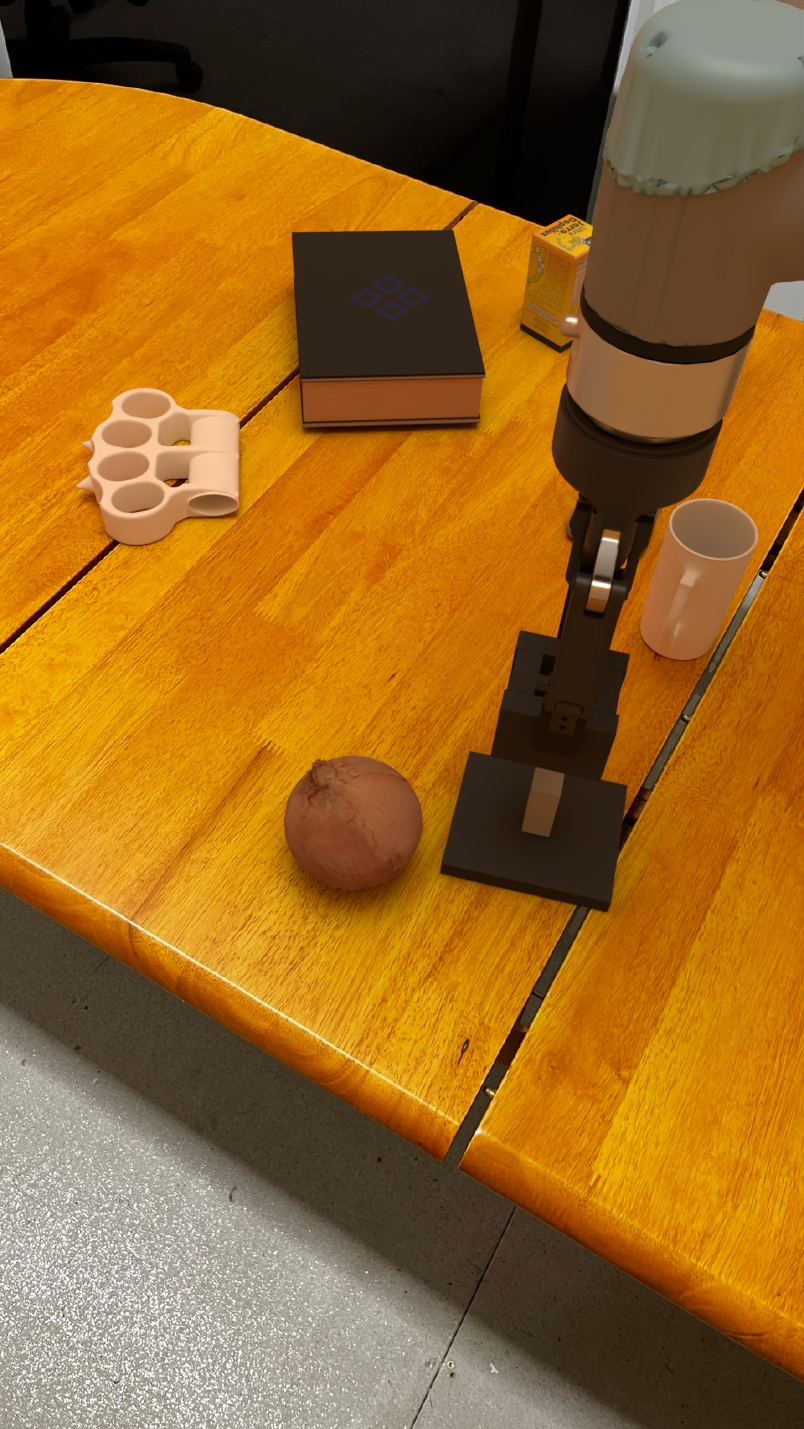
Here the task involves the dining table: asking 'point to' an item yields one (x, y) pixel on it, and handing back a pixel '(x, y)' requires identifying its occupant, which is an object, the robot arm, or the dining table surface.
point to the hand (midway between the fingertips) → (564, 702)
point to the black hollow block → (526, 705)
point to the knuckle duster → (161, 465)
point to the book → (384, 329)
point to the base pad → (527, 854)
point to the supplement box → (555, 279)
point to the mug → (696, 576)
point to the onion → (353, 822)
